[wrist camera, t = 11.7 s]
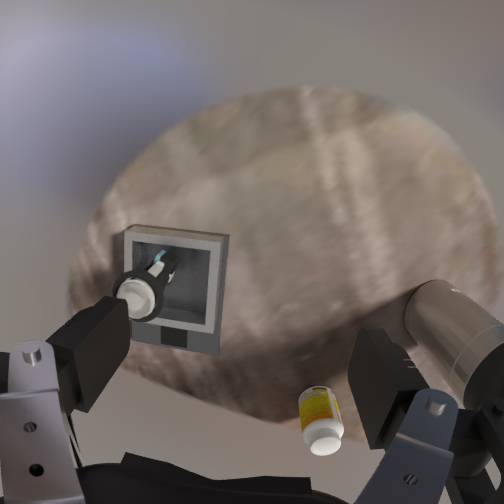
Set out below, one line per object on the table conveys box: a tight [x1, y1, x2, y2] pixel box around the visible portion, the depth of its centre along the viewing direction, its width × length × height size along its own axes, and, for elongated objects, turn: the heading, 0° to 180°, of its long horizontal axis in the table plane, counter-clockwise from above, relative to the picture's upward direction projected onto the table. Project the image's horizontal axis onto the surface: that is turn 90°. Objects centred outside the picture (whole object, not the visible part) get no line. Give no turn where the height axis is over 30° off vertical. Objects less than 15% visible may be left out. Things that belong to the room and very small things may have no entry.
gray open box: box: [124, 224, 230, 355], centre depth 38 cm, size 12×16×4 cm
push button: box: [113, 250, 178, 322], centre depth 33 cm, size 7×5×10 cm
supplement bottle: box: [298, 386, 344, 455], centre depth 39 cm, size 6×6×10 cm
